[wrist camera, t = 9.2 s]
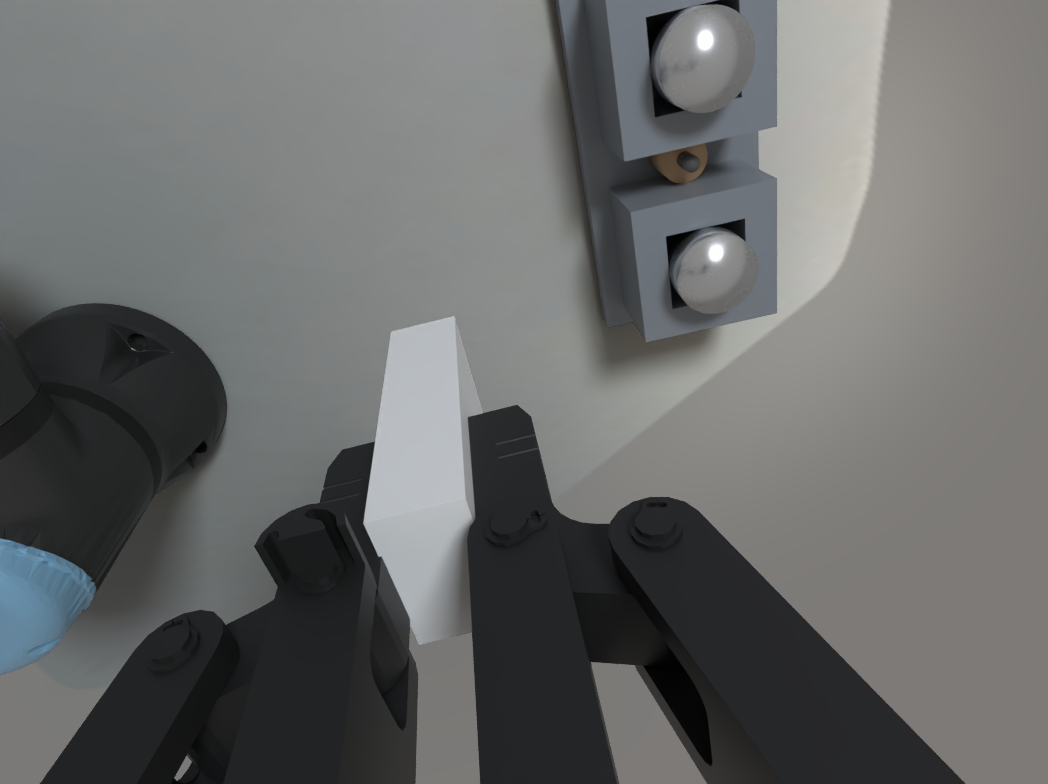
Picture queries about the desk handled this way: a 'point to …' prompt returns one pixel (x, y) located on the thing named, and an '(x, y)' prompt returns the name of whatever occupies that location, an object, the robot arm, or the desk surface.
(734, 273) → the knob
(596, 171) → the mount
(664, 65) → the knob
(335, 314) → the desk surface
